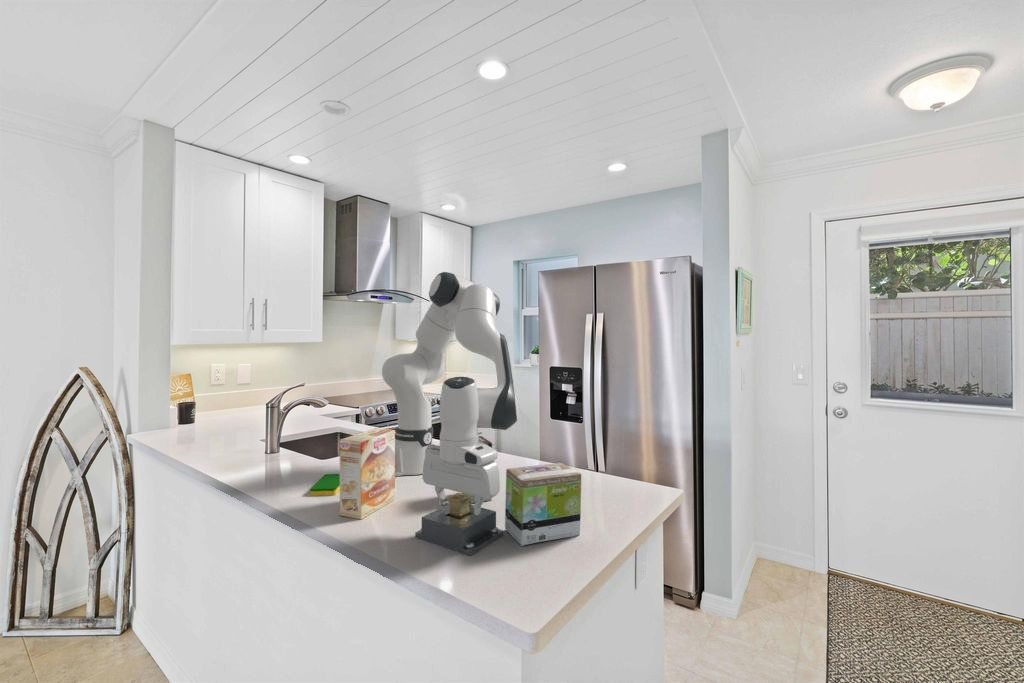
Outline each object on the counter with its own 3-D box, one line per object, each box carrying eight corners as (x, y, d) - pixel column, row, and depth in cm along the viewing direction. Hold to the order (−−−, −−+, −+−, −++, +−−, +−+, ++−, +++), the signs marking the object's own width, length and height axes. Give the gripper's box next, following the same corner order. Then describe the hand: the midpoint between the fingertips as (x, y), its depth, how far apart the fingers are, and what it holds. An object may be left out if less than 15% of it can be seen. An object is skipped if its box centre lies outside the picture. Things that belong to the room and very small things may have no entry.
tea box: (522, 548, 102) (522, 480, 101) (504, 529, 111) (504, 467, 111) (581, 536, 108) (582, 472, 107) (560, 519, 117) (560, 460, 117)
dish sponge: (348, 480, 147) (348, 473, 147) (335, 496, 134) (335, 488, 134) (325, 481, 147) (325, 473, 147) (309, 497, 133) (309, 489, 133)
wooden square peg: (448, 532, 107) (447, 497, 107) (458, 526, 110) (458, 492, 110) (461, 536, 105) (460, 501, 105) (471, 529, 108) (470, 495, 108)
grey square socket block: (415, 536, 107) (415, 515, 107) (450, 519, 117) (450, 499, 117) (470, 555, 98) (470, 532, 98) (503, 534, 108) (503, 513, 108)
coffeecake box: (361, 520, 117) (361, 441, 116) (338, 516, 119) (337, 439, 118) (396, 499, 131) (396, 429, 130) (375, 496, 133) (374, 427, 132)
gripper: (416, 445, 110) (416, 504, 111) (486, 459, 99) (486, 524, 99) (434, 440, 115) (434, 496, 116) (503, 452, 104) (503, 514, 105)
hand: (459, 509), depth 108 cm, fingers open, 8 cm apart
